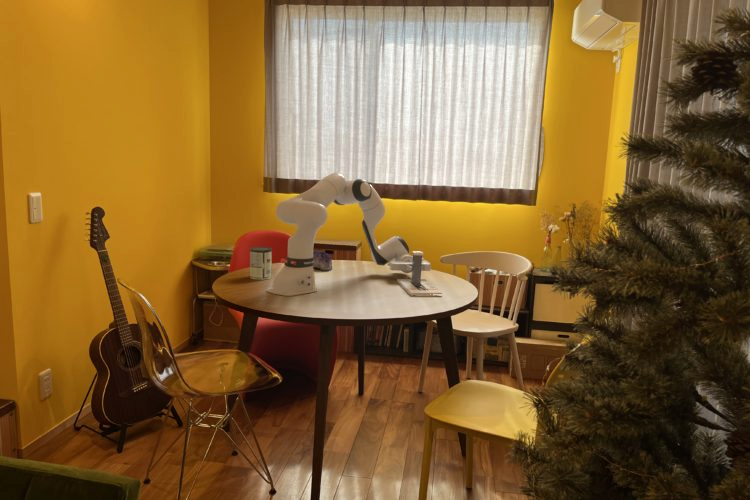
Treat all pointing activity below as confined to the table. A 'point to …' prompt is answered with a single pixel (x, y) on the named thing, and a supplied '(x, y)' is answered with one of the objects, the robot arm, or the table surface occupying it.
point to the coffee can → (260, 263)
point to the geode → (322, 261)
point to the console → (414, 291)
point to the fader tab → (416, 268)
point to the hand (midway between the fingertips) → (413, 269)
